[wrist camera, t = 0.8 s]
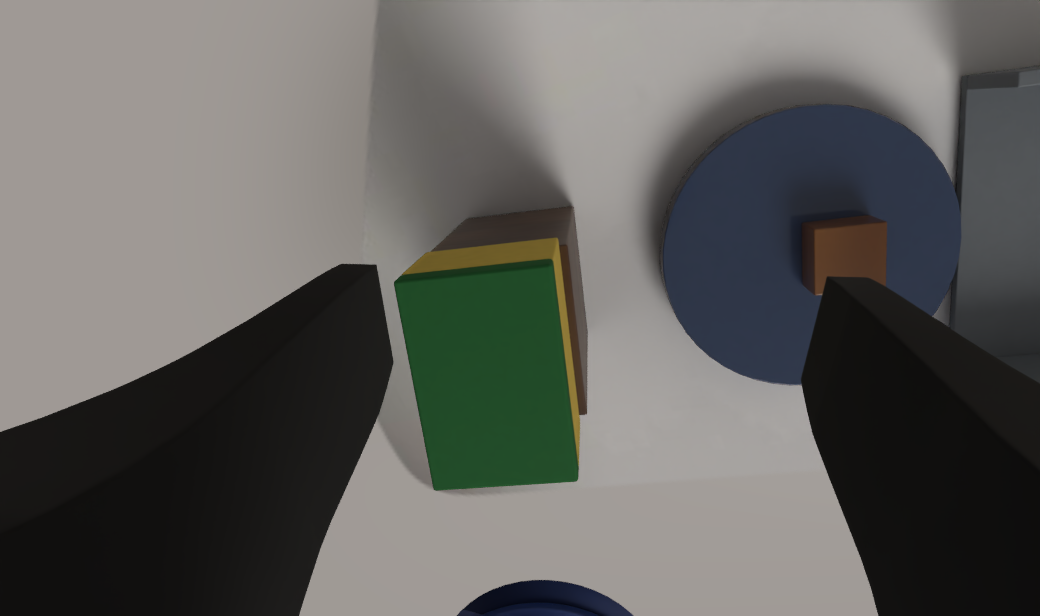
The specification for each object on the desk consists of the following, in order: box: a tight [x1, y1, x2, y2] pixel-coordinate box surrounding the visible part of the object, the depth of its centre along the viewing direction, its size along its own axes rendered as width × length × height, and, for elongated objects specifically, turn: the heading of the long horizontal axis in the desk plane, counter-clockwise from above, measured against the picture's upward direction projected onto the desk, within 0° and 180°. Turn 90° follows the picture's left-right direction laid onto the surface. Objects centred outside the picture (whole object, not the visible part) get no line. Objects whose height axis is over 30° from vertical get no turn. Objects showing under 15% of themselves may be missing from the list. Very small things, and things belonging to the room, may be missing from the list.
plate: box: [660, 104, 962, 385], centre depth 26 cm, size 11×11×1 cm
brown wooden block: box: [431, 206, 588, 415], centre depth 24 cm, size 4×6×8 cm
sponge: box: [394, 238, 580, 491], centre depth 19 cm, size 4×6×4 cm, turn 8°
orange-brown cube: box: [802, 215, 887, 296], centre depth 25 cm, size 2×2×2 cm
